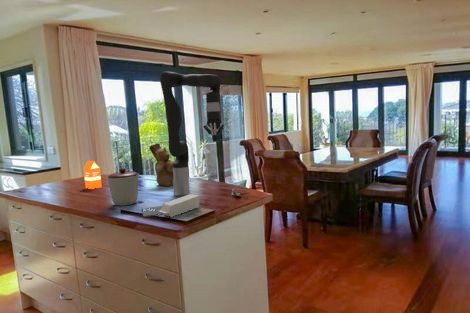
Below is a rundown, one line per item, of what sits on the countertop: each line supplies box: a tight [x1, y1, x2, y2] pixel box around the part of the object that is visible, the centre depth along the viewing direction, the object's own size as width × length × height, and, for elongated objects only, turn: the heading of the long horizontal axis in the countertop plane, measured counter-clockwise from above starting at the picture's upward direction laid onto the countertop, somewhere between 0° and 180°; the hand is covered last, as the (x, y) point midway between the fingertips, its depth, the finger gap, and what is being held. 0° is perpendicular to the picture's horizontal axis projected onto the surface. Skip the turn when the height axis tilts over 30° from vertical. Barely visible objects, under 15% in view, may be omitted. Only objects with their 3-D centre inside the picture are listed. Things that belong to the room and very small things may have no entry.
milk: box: [159, 193, 200, 218], centre depth 177 cm, size 6×6×22 cm
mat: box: [141, 205, 163, 218], centre depth 183 cm, size 23×16×1 cm
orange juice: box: [83, 160, 103, 190], centre depth 259 cm, size 8×9×20 cm
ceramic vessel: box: [148, 142, 174, 187], centre depth 255 cm, size 16×22×30 cm
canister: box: [105, 167, 140, 207], centre depth 202 cm, size 18×18×21 cm
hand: (215, 141), depth 199 cm, fingers closed
